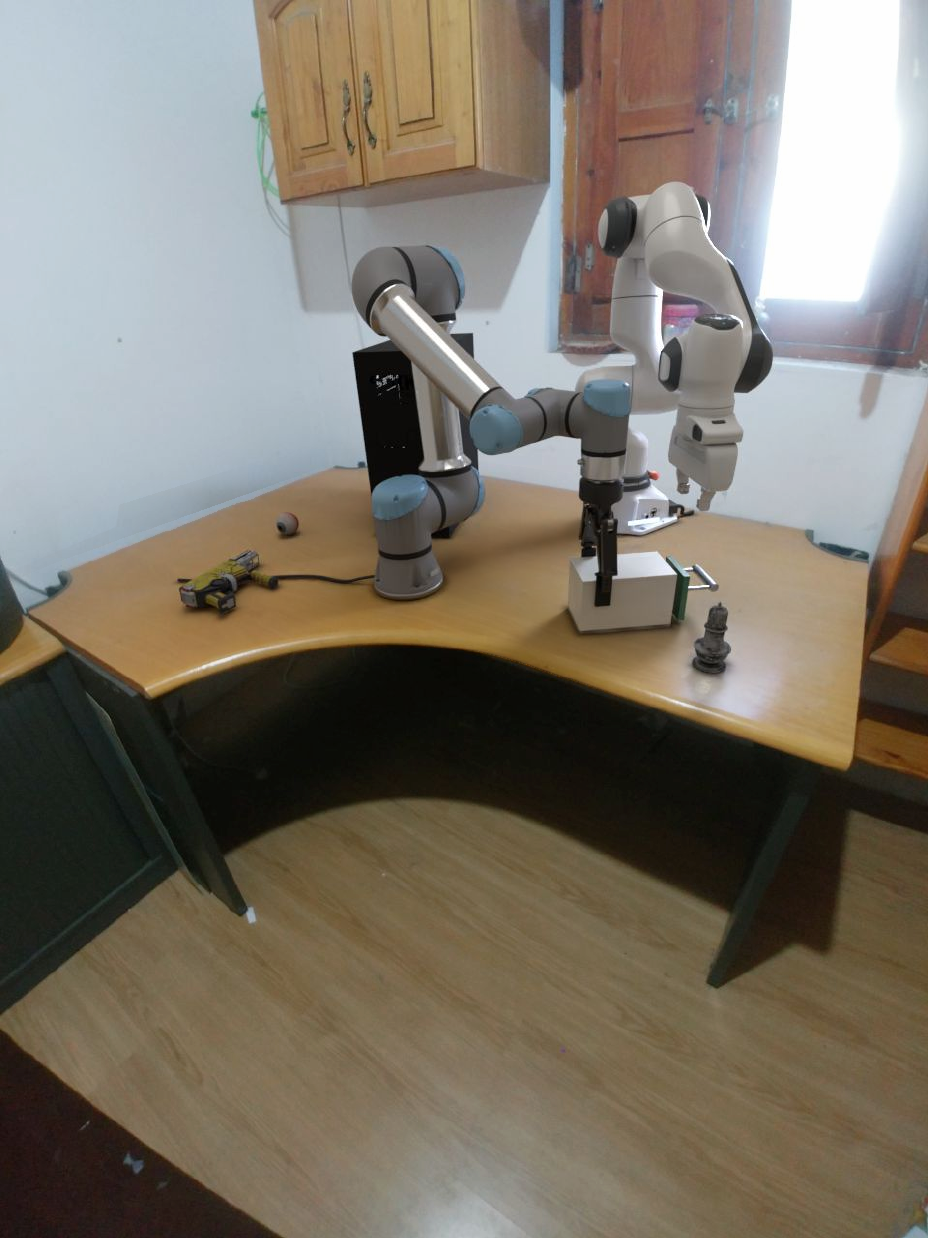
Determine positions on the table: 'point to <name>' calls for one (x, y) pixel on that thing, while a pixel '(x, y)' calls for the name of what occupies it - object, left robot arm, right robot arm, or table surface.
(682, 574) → the drawer
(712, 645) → the dark grey chess piece
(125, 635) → the table surface
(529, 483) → the table surface
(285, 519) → the eyeball
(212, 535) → the table surface
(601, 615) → the cabinet
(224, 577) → the toy gun
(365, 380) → the black box
